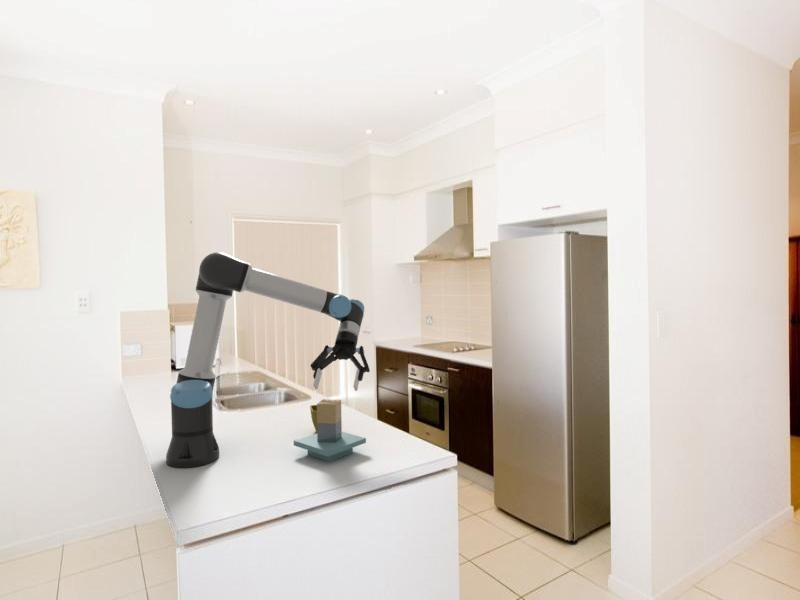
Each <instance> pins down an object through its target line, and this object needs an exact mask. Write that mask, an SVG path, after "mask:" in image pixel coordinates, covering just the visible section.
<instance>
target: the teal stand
mask: <svg viewBox="0 0 800 600" xmlns="http://www.w3.org/2000/svg"><path fill="white" fill-rule="evenodd" d="M366 443H367V439H366V437H363V436H359V435H356V434H352V433H349V432H344V431H342V437H341V438H340V439H339V440H338V441H337V442H336V443H328V442H317V433H313V434H311V435H307V436H304V437H301V438H298V439H295V440H293V446H295V447H298V448H301V449H304V450H307V455H310V456H311V457H315V458H318V459H320V460H324V461H326V462H331V461H334V460H337V459H340V458H342V457H344V456H347V455H349V454H352V453H354V452H353V451H354V450H353V449H354V448H355V447H358V446H361V445H364V444H366Z"/></svg>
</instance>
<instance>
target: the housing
mask: <svg viewBox="0 0 800 600" xmlns="http://www.w3.org/2000/svg"><path fill="white" fill-rule="evenodd" d="M316 405H317V432H316V434H317V442H328V443H336V442H337V441H338V440H339V439H340V438H341V437H342V432H343V430H342V428H343V426H342V423H343V422H342V399H331V398H330V399H328V398H323V399H321V400H320V401H319V402H317V403H316Z"/></svg>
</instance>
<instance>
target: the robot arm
mask: <svg viewBox="0 0 800 600" xmlns="http://www.w3.org/2000/svg"><path fill="white" fill-rule="evenodd" d="M198 270H199V271H198V277H197V282H196V287H195V292H196V293H197V295H198V300H197V301H198V302H197V306H196V311H195V315H194V320H193V325H192V330H191V335H190V338H189V339H190V340H189V345H188V350H187V354H186V355H187V356H186V359H185V365H184V367H183V368H182V369H180V370H179V371H178V374H177V380H176V383H175V384H174V385H173V386H172V387H171V389H170V395H169V397H170V398H169V399H170V403H171V404H170V407H171V412H170V413H171V438H170V439H171V440H170V443H169V445H168V450H167V452H166V455H165V457H166V458H165V459H166V460H165V462H166V465H167V466H169V467H172V468H178V469H181V468H183V469H186V468H195V467H201V466H205V465H208V464H211V463H213V462H215V461H216V460H218V459H219V458H220V446H219V444H218V442H217V439H216V437H215V434H214V429H213V428H214V426H213V425H214V424H213V423H214V419H213V415H214V414H213V395H214V394H213V392H214V387H215V383H216V378H217V377H216V374H215V373H214V372H213V368H214V362H215V358H216V354H217V349H218V343H219V338H220V334H221V328H222V323H223V319H224V314H225V309H226V303H227V300H229V299H231V298H232V297H233V293H234V292H236V293H237V292H238V293H243V292H249V293H251V294H256V295H260V296H264V297H267V298H269V299H273V300H276V301H280V302H283V303H287V304H291V305H293V306H297V307H301V308H303V309H304V308H305V309H309V310H312V311H315V312H318V313H321V314H324V315H326V316H328V317H331V318H333V319H335V320H336V321H339V326H338V331H337V333H336V334H337V335H336V339H335V342H334V346H333V347H331V346H329V345H325V346H324V348H323V350H322V351H321V352H320V353H319V355H318V356H317V357H316V358H315V359H314V361H312V362H311V364H310V368H311V370H312V371H313V375H312V376H313V379H314V381H313V384H312V385H313V387H314V389H315V390H318V388H319V385H320V381H321V378H322V371H323V370H324V369H325V368H327V367H328V366H330V364H332V363H333V362H336V361H337V360H339V361H340V360H341V361H342V360H343V361H344V360H345V361H347V360H350V361H351V362H352V363H353V365H354V366H355V368H356V372H355V378H354V382H353V389H354V391H355V392H357V391H358V388H359V384H360V382H362V381H363V378H364V374H365V373H370V367H369V364H368V361H367V359H366V356H365V350H364V349H365V348H364V346H362V345H360V346H359V347H357V345H358V340H359V335H360V331H361V325H362V321H363V319H364V312H365V306H364V303H363V302H362V301H361V300H359V299H354V298H352V299H351V298H350V299H349V298H348V297H347V296H345V295H343V294H338V293H334V292H331V291H328V290H324V289H321V288H318V287H315V286H312V285H309V284H305V283H303V282H299V281H296V280H293V279H289V278H287V277H283V276H280V275H277V274H275V273H274V274H273V273H271V272H267V271H263V270H261V269H258V268H254V267H253V266H252V265H251V263H250V262H246V261H243V260H240V259H238V258H235V257H233V256H231V255H229V254H228V253H225V252H222V251H221V252H219V251H218V252H217V251H216V252H212V253H210V254H208V255H206V256H205V257H204V258H203V259H202V260H201V263H200V265H199V269H198ZM356 353H358V355H360V358H361V361H362V363H363V365H362V364H361V363H360V362H359V360H358V359H357V358H356V357H355V355H356Z"/></svg>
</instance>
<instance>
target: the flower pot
mask: <svg viewBox="0 0 800 600" xmlns="http://www.w3.org/2000/svg"><path fill="white" fill-rule="evenodd" d="M309 407H310V408H309V409H310V416H311V417H310V418H311V422H312V424H313V427H314V431H316V433H317V404H311V405H310V406H309Z"/></svg>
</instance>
